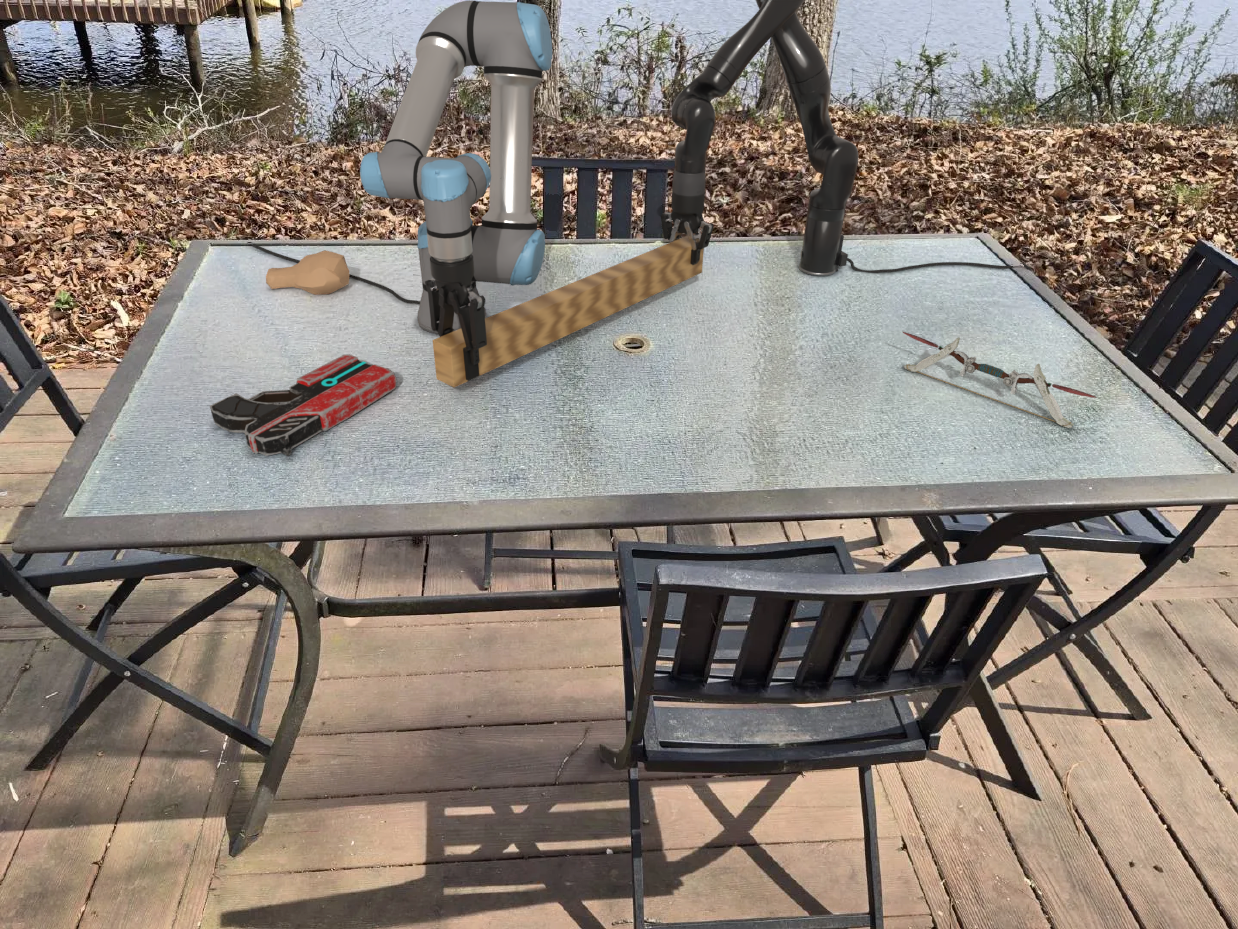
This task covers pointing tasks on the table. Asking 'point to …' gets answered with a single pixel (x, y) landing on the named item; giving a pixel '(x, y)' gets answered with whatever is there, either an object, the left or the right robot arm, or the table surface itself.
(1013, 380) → the bow
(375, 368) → the gun
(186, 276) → the table surface
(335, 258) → the squash
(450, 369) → the beam
